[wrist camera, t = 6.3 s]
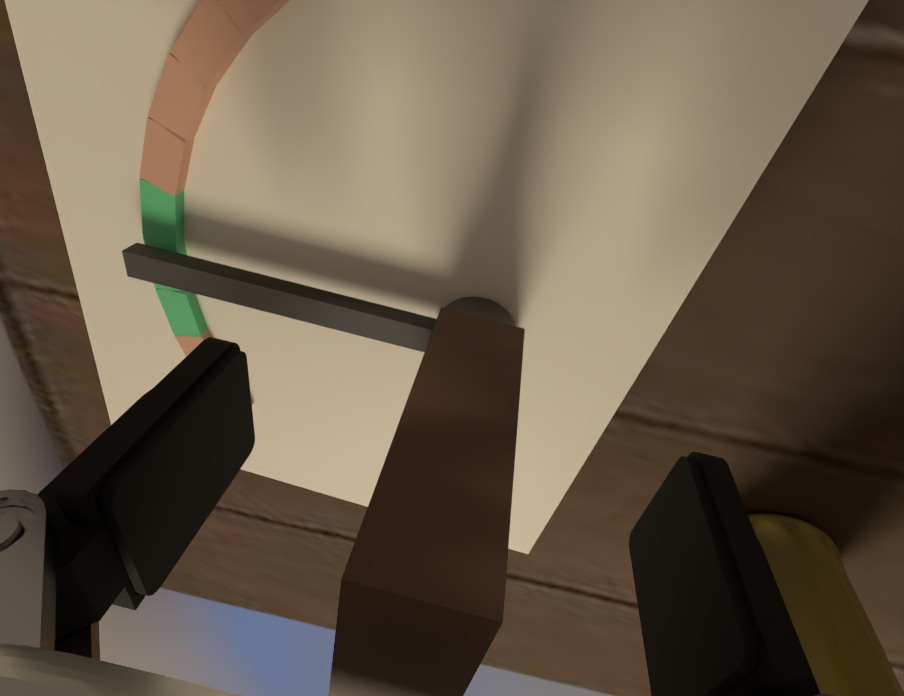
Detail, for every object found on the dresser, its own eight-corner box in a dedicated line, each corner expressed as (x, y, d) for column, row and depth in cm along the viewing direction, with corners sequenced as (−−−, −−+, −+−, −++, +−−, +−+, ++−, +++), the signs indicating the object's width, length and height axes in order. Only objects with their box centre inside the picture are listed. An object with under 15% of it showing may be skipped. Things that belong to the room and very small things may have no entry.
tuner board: (852, -37, 10) (909, -47, 8) (529, 523, 22) (527, 563, 20) (-2, -297, 10) (-107, -355, 8) (137, 407, 21) (105, 438, 20)
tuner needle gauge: (540, 266, 13) (529, 628, 5) (494, 405, 16) (445, 764, 8) (132, 164, 13) (-438, 370, 5) (161, 319, 16) (-184, 592, 8)
